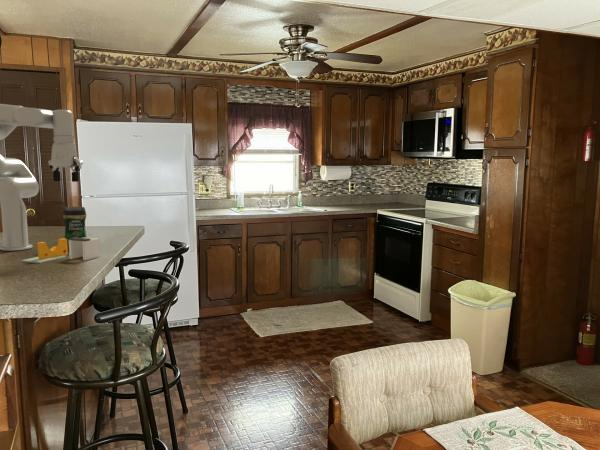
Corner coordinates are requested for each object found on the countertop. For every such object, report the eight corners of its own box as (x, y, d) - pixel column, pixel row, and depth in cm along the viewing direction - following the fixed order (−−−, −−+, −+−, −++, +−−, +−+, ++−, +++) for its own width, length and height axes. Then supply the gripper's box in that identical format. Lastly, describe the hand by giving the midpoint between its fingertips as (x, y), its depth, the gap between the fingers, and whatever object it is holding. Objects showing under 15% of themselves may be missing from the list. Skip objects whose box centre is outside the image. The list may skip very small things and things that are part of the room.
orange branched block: (60, 253, 208) (59, 238, 207) (67, 254, 206) (67, 238, 206) (35, 258, 197) (34, 242, 196) (43, 259, 195) (42, 243, 195)
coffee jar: (63, 249, 220) (61, 207, 218) (65, 246, 228) (63, 206, 225) (87, 248, 224) (85, 207, 221) (88, 245, 231) (86, 205, 229)
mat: (22, 261, 194) (22, 260, 194) (49, 255, 206) (49, 254, 206) (40, 263, 191) (40, 261, 191) (66, 257, 203) (66, 255, 203)
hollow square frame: (69, 258, 200) (68, 238, 199) (84, 255, 207) (83, 235, 206) (85, 260, 197) (84, 239, 196) (100, 256, 205) (99, 236, 204)
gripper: (40, 140, 208) (43, 181, 210) (73, 139, 202) (75, 182, 204) (55, 140, 215) (57, 180, 217) (87, 140, 209) (89, 181, 211)
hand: (66, 181), depth 210 cm, fingers open, 9 cm apart
